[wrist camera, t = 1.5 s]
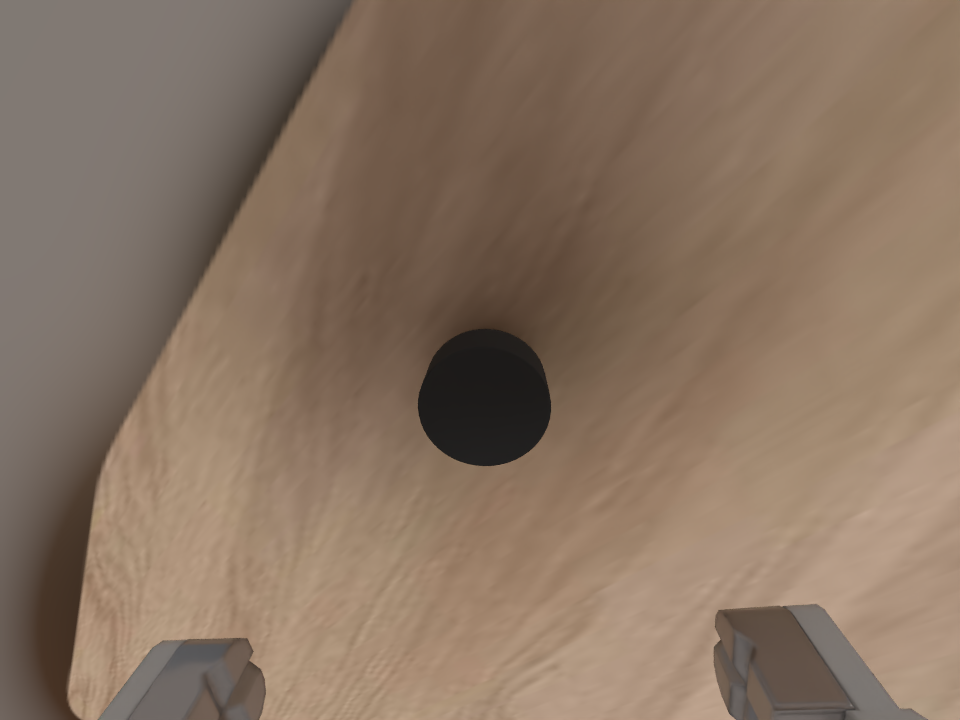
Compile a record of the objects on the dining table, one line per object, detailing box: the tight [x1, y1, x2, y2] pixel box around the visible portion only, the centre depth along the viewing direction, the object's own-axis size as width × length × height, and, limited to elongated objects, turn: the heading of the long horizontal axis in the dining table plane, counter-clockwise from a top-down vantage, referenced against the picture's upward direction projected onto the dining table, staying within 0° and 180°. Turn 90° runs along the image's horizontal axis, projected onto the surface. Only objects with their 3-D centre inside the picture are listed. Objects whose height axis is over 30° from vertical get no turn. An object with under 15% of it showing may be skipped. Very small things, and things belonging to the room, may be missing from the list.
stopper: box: [418, 329, 551, 466], centre depth 19 cm, size 5×5×6 cm
